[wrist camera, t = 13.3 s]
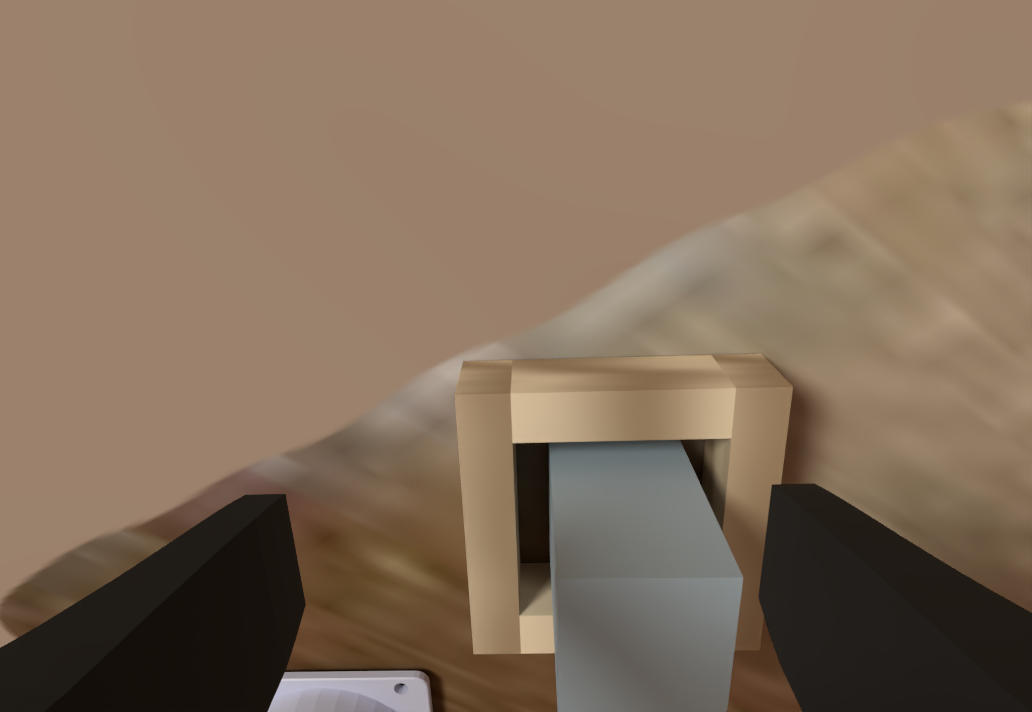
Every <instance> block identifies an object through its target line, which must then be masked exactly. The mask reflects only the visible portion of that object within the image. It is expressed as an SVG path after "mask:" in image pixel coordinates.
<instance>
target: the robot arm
mask: <svg viewBox="0 0 1032 712" xmlns="http://www.w3.org/2000/svg"><path fill="white" fill-rule="evenodd" d="M758 598H759V602H760V605H761V608H762V611H763V614H764V617H765V620H766V624H767V627H768V630H769V633H770V636H771V639H772V642H773V645H774V648H775V650H776V653H777V656H778V659H779V662H780V664H781V667H782V669H783V671H784V673H785V675H786V677H787V680H788V682H789V684H790V686H791V688H792V690H793V692H794V695H795V697H796V699H797V701H798V703H799V705H800V707H801V709H802V711H803V712H1032V613H1031V612H1029V611H1027V610H1025V609H1024V608H1022V607H1020V606H1018V605H1016V604H1015V603H1013V602H1011V601H1009V600H1007V599H1006V598H1004V597H1002V596H1000V595H998V594H997V593H995V592H993V591H991V590H989V589H988V588H986V587H984V586H982V585H981V584H979V583H977V582H976V581H974V580H972V579H971V578H969V577H967V576H965V575H964V574H962V573H960V572H959V571H957V570H955V569H954V568H952V567H950V566H949V565H947V564H945V563H944V562H942V561H940V560H939V559H937V558H935V557H934V556H932V555H931V554H929V553H927V552H926V551H924V550H922V549H921V548H919V547H918V546H916V545H914V544H913V543H911V542H910V541H908V540H906V539H905V538H903V537H902V536H900V535H898V534H897V533H895V532H894V531H892V530H890V529H889V528H887V527H886V526H884V525H883V524H881V523H879V522H878V521H876V520H875V519H873V518H871V517H870V516H868V515H867V514H865V513H863V512H862V511H860V510H859V509H857V508H855V507H854V506H852V505H851V504H849V503H847V502H846V501H844V500H842V499H841V498H839V497H837V496H836V495H834V494H832V493H831V492H829V491H827V490H825V489H823V488H822V487H820V486H818V485H816V484H772V487H771V496H770V504H769V512H768V521H767V529H766V537H765V546H764V554H763V562H762V571H761V579H760V587H759V596H758ZM305 605H306V604H305V598H304V593H303V588H302V582H301V577H300V571H299V566H298V560H297V555H296V549H295V544H294V539H293V533H292V528H291V522H290V517H289V511H288V506H287V500H286V495H285V494H265V495H244V496H242V497H241V498H239V499H237V500H235V501H233V502H232V503H230V504H228V505H227V506H225V507H223V508H222V509H220V510H219V511H217V512H216V513H214V514H212V515H211V516H209V517H208V518H206V519H205V520H203V521H202V522H200V523H199V524H197V525H196V526H194V527H193V528H191V529H190V530H188V531H187V532H185V533H184V534H182V535H181V536H179V537H178V538H176V539H175V540H173V541H172V542H170V543H169V544H167V545H166V546H164V547H163V548H161V549H160V550H158V551H157V552H155V553H154V554H152V555H151V556H149V557H148V558H146V559H145V560H143V561H142V562H140V563H139V564H137V565H136V566H134V567H133V568H131V569H130V570H128V571H127V572H125V573H123V574H122V575H120V576H119V577H117V578H116V579H114V580H112V581H111V582H109V583H108V584H106V585H104V586H103V587H101V588H99V589H98V590H96V591H95V592H93V593H91V594H90V595H88V596H87V597H85V598H83V599H82V600H80V601H78V602H77V603H75V604H74V605H72V606H70V607H69V608H67V609H65V610H64V611H62V612H61V613H59V614H57V615H56V616H54V617H53V618H51V619H49V620H48V621H46V622H44V623H43V624H41V625H39V626H38V627H36V628H34V629H33V630H31V631H29V632H27V633H26V634H24V635H22V636H21V637H19V638H17V639H15V640H13V641H12V642H10V643H8V644H7V645H5V646H3V647H1V648H0V712H433V707H432V697H431V688H430V680H429V677H428V676H427V675H426V674H425V673H423V672H421V671H331V672H285V671H286V668H287V665H288V662H289V658H290V655H291V652H292V649H293V646H294V643H295V640H296V636H297V633H298V629H299V626H300V622H301V619H302V615H303V612H304V608H305ZM399 683H401V684H405V685H400V684H399Z"/></svg>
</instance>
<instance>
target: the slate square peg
mask: <svg viewBox="0 0 1032 712" xmlns="http://www.w3.org/2000/svg"><path fill="white" fill-rule="evenodd" d="M548 463H549V548H550V568H551V588H552V608H553V628H554V648H555V668H556V688H557V708H558V712H727V707H728V699H729V691H730V683H731V674H732V666H733V658H734V650H735V642H736V634H737V626H738V617H739V609H740V601H741V593H742V585H743V576H742V573H741V571H740V569H739V567H738V565H737V563H736V560H735V558H734V556H733V554H732V552H731V550H730V547H729V545H728V543H727V541H726V539H725V537H724V534H723V532H722V530H721V528H720V526H719V524H718V521H717V519H716V517H715V515H714V513H713V511H712V508H711V506H710V504H709V502H708V500H707V498H706V495H705V493H704V491H703V489H702V487H701V485H700V482H699V480H698V478H697V476H696V474H695V471H694V469H693V467H692V465H691V463H690V461H689V458H688V456H687V454H686V452H685V450H684V448H683V445H682V443H681V441H680V440H637V441H591V442H548Z"/></svg>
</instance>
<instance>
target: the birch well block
mask: <svg viewBox="0 0 1032 712" xmlns="http://www.w3.org/2000/svg"><path fill="white" fill-rule="evenodd" d="M792 392H793V386H792V385H791V384H790V383H789V382H788V381H787V380H786V379H785V378H784V377H783V376H782V375H781V374H780V372H779V371H778V370H777V369H776V368H775V367H774V366H773V365H772V364H771V363H770V362H769V361H768V360H767V359H766V358H765V357H764V356H763V355H762V354H734V355H694V356H655V357H615V358H576V359H536V360H497V361H463V365H462V368H461V372H460V376H459V380H458V384H457V388H456V392H455V406H456V420H457V433H458V447H459V461H460V474H461V488H462V502H463V515H464V529H465V543H466V556H467V570H468V584H469V597H470V611H471V625H472V638H473V652H474V654H526V653H555V648H554V628H553V608H552V588H551V568H550V563H520V543H519V516H518V490H517V464H516V443H545V442H591V441H637V440H683V439H705V445H704V458H703V472H702V485H701V487H702V489H703V491H704V493H705V495H706V498H707V500H708V502H709V504H710V506H711V508H712V511H713V513H714V515H715V517H716V519H717V521H718V524H719V526H720V528H721V530H722V532H723V534H724V537H725V539H726V541H727V543H728V545H729V547H730V550H731V552H732V554H733V556H734V558H735V560H736V563H737V565H738V567H739V569H740V571H741V573H742V576H743V585H742V593H741V601H740V609H739V617H738V626H737V634H736V642H735V650H734V651H760V647H761V639H762V631H763V623H764V614H763V611H762V608H761V605H760V602H759V598H758V596H759V587H760V579H761V571H762V562H763V554H764V546H765V537H766V529H767V521H768V512H769V504H770V496H771V487H772V484H781V480H782V472H783V464H784V456H785V448H786V440H787V432H788V424H789V416H790V408H791V400H792Z"/></svg>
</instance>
